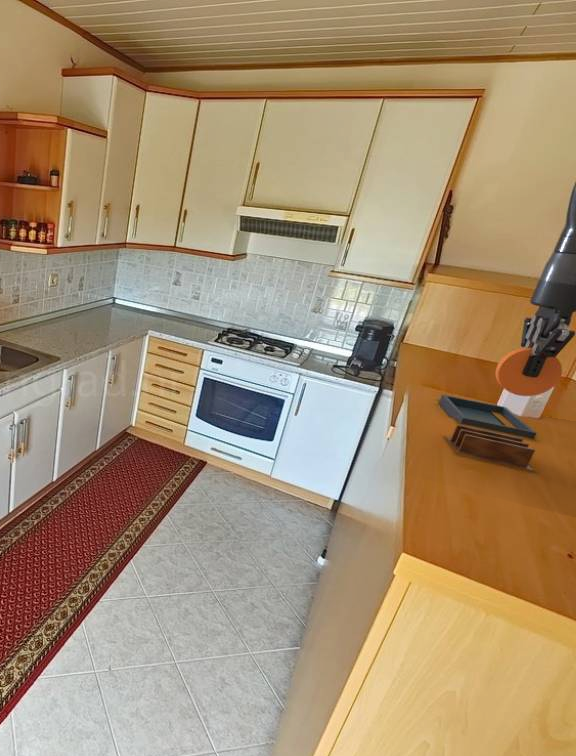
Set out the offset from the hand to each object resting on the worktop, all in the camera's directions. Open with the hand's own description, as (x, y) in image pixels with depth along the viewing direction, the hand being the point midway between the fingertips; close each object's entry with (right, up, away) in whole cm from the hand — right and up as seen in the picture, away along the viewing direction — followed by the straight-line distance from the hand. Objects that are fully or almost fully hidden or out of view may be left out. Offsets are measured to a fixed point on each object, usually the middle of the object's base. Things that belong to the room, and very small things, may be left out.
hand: (526, 374), depth 91 cm
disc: (0, -4, +1) cm, 4 cm away
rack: (-1, -17, +8) cm, 18 cm away
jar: (+31, -10, +35) cm, 48 cm away
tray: (+15, -11, +27) cm, 33 cm away
